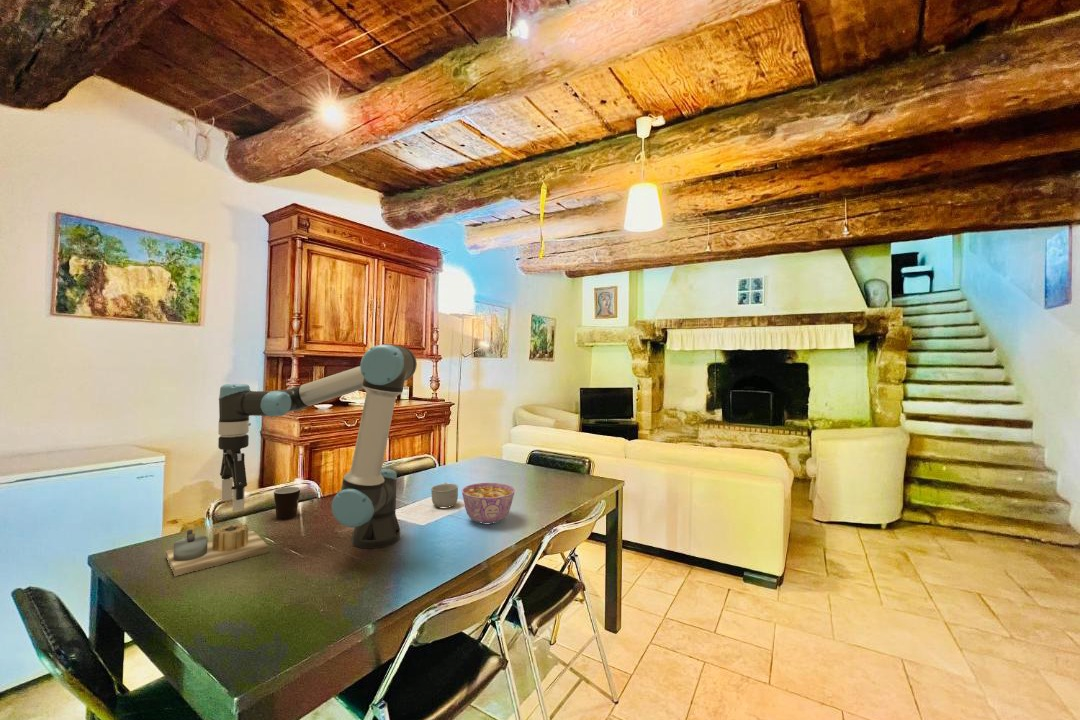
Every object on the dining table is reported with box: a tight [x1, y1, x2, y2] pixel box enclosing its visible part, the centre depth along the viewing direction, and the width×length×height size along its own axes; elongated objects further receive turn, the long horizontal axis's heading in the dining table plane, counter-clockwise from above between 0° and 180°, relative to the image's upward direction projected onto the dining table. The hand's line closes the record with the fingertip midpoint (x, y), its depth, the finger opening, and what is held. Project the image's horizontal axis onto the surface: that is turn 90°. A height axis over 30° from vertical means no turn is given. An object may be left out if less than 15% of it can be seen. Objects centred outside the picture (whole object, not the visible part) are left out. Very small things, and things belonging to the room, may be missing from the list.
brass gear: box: [211, 523, 250, 552], centre depth 132 cm, size 9×9×5 cm
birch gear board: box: [165, 526, 269, 577], centre depth 130 cm, size 16×22×8 cm
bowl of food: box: [461, 482, 516, 523], centre depth 164 cm, size 20×20×12 cm
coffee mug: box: [273, 486, 301, 521], centre depth 164 cm, size 12×9×10 cm
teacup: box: [430, 482, 459, 508], centre depth 181 cm, size 14×11×8 cm
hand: (232, 505), depth 132 cm, fingers open, 13 cm apart
